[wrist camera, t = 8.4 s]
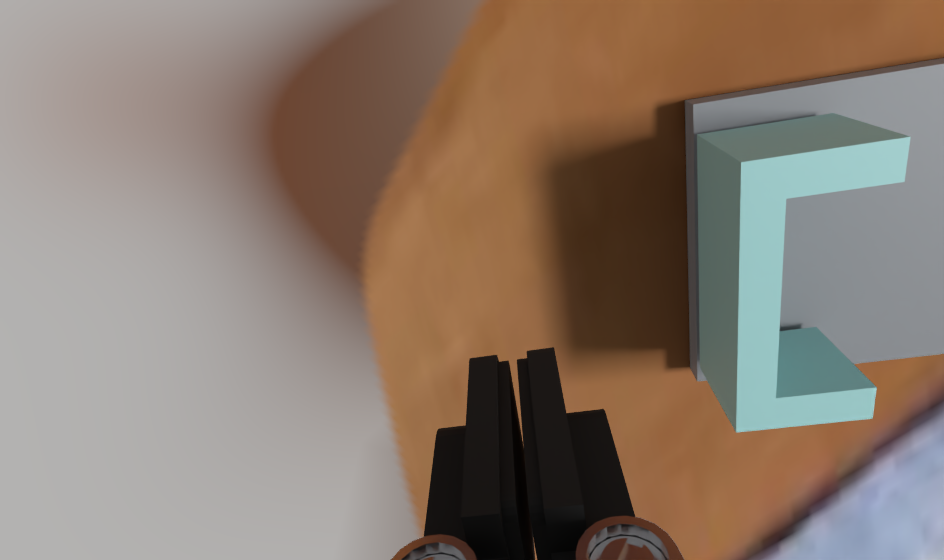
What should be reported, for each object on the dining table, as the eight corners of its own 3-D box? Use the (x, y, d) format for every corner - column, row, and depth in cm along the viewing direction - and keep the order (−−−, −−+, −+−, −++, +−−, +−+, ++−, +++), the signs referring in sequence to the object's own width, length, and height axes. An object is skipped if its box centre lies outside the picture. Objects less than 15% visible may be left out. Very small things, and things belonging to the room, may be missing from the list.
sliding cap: (833, 112, 15) (910, 136, 13) (814, 354, 18) (872, 418, 16) (696, 134, 16) (741, 161, 13) (699, 367, 19) (736, 432, 16)
